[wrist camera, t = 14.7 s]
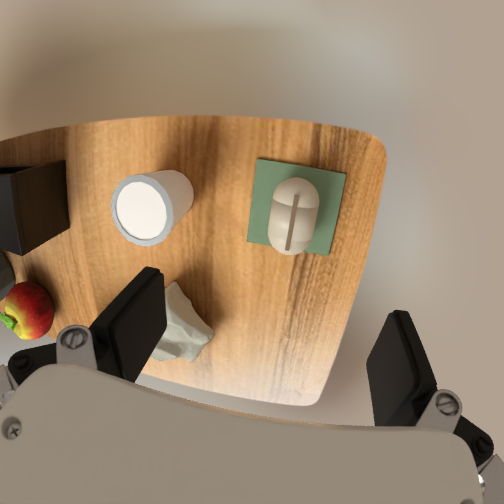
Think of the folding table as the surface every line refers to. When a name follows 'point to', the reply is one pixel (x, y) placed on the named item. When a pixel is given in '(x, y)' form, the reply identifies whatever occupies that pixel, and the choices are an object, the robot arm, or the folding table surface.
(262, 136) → the folding table surface
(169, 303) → the decorative stone
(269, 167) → the mat
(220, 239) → the folding table surface
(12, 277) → the bottle
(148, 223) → the white cup
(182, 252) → the folding table surface
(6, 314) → the fruit
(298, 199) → the cream rounded oblong block
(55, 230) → the long dark rectangular box
